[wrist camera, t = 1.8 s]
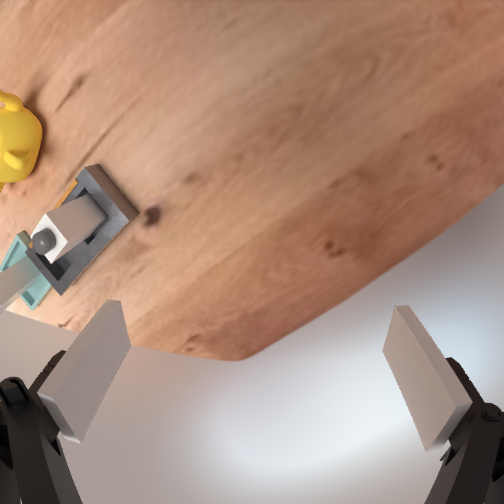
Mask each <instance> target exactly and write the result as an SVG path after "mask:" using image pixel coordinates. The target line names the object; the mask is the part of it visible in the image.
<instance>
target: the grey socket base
mask: <svg viewBox="0 0 504 504" xmlns="http://www.w3.org/2000/svg"><path fill="white" fill-rule="evenodd" d="M89 193H90V194H91V195H92V197H93V198H94V199H95V200H96V201H97V203H98V204H99V205H100V206H101V207H102V209H103V210H104V211H105V212H106V213H107V215H108V216H109V218H108V219H107V220H106V221H105V222H104V223H103V224H102V226H101V227H100V228H99V229H98V230H97V231H96V232H95V233H94V234H92V235H91V236H89V237H88V238H86V239H85V240H83V241H82V242H81V243H79V244H78V245H76V246H75V247H74V248H72V249H71V250H69V251H68V252H67V253H65V254H64V255H62V256H61V257H60V258H58V259H57V260H56V261H54V262H53V263H52V264H51V263H50V261H49V260H48V259H47V258H46V257H45V255H40V254H38V253H37V252H36V251H35V250H34V248H33V245H32V241H31V243H30V245H29V246H28V248H27V250H26V251H25V253H26V255H27V256H28V257H29V258H30V260H31V261H32V262H33V264H34V265H35V266H36V267H37V269H38V270H39V271H40V272H41V273H42V275H43V276H44V277H45V278H46V279H47V281H48V282H49V283H50V284H51V285H52V286H53V288H54V289H55V290H56V291H57V292H58V293H59V294H60V296H62V295H63V294H64V293H65V292H66V291H67V290H68V289H69V288H70V287H71V286H72V285H73V284H74V283H75V281H76V280H77V279H78V278H79V277H80V276H81V275H82V273H83V272H84V271H85V270H86V269H87V268H88V267H89V266H90V264H91V263H92V262H93V261H94V260H95V259H96V258H97V257H98V256H99V255H100V253H101V252H102V251H103V250H104V249H105V248H106V247H107V246H108V245H109V244H110V243H111V242H112V241H113V240H114V239H115V237H116V236H117V235H118V234H119V233H120V232H121V231H122V230H123V229H124V228H125V227H126V226H127V225H128V224H129V223H130V222H131V221H132V220H133V219H134V218H135V217H136V216H137V215H138V214H139V212H138V211H137V210H136V209H135V208H134V206H133V205H132V204H131V203H130V202H129V201H128V199H127V198H126V197H125V196H124V195H123V194H122V192H121V191H120V190H119V189H118V188H117V186H116V185H115V184H114V183H113V182H112V181H111V179H110V178H109V177H108V176H107V175H106V173H105V172H104V171H103V170H102V168H101V167H100V166H99V165H98V164H96V165H92V166H88V167H84V169H83V170H82V171H81V172H80V174H79V175H78V176H77V177H76V179H75V180H74V181H73V183H72V184H71V185H70V186H69V188H68V189H67V190H66V192H65V193H64V194H63V196H62V197H61V199H60V200H59V201H58V203H57V204H56V205H55V207H54V208H53V209H55V208H57V207H60V206H62V205H64V204H66V203H68V202H71V201H73V200H75V199H77V198H80V197H82V196H84V195H87V194H89Z"/></svg>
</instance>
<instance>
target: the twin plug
mask: <svg viewBox="0 0 504 504" xmlns="http://www.w3.org/2000/svg"><path fill="white" fill-rule="evenodd" d="M108 218H109V216H108V215H107V213H106V212H105V211H104V210H103V209H102V207H101V206H100V205H99V204H98V203H97V201H96V200H95V199H94V198H93V197H92V195H91V194H90V193H89V194H87V195H84V196H82V197H80V198H77V199H75V200H73V201H71V202H68V203H66V204H64V205H62V206H60V207H57V208H55V209H53V210H51V211H49V212H47V213H45V214H44V216H43V217H42V219H41V220H40V222H39V224H38V225H37V227H36V228H35V230H34V231H33V233H32V235H31V236H30V237H31V239H32V245H33V248H34V250H35V251H36V252H37V253H38V254H40V255H45V257H46V258H47V259H48V260H49V261H50V263H51V264H52V263H53V262H54V261H56V260H57V259H58V258H60V257H61V256H62V255H64V254H65V253H67V252H68V251H69V250H71V249H72V248H74V247H75V246H76V245H78V244H79V243H81V242H82V241H83V240H85V239H86V238H88V237H89V236H91V235H92V234H94V233H95V232H96V231H97V230H98V229H99V228H100V227H101V226H102V224H103V223H104V222H105V221H106V220H107V219H108Z"/></svg>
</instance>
